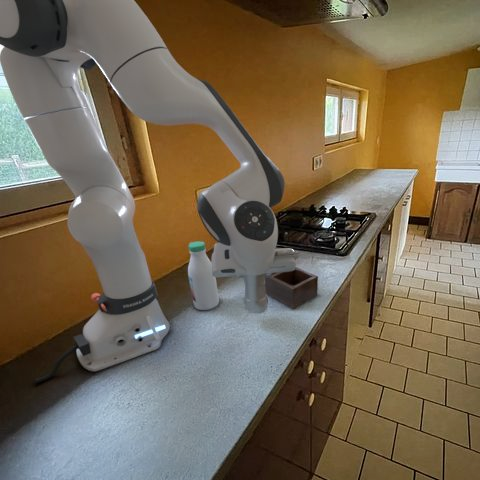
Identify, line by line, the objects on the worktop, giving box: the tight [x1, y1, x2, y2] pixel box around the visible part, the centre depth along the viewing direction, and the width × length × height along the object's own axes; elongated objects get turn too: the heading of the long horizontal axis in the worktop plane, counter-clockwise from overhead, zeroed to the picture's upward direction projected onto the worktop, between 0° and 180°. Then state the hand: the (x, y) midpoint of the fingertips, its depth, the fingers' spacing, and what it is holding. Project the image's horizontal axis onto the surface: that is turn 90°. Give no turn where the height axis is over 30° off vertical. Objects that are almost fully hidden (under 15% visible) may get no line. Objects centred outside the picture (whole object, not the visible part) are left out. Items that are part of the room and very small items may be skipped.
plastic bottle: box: [243, 274, 269, 315], centre depth 79 cm, size 6×7×20 cm
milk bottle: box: [187, 240, 220, 311], centre depth 89 cm, size 8×8×20 cm
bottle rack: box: [265, 266, 319, 310], centre depth 97 cm, size 11×21×7 cm, turn 42°
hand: (253, 273), depth 79 cm, fingers closed on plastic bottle, 6 cm apart
